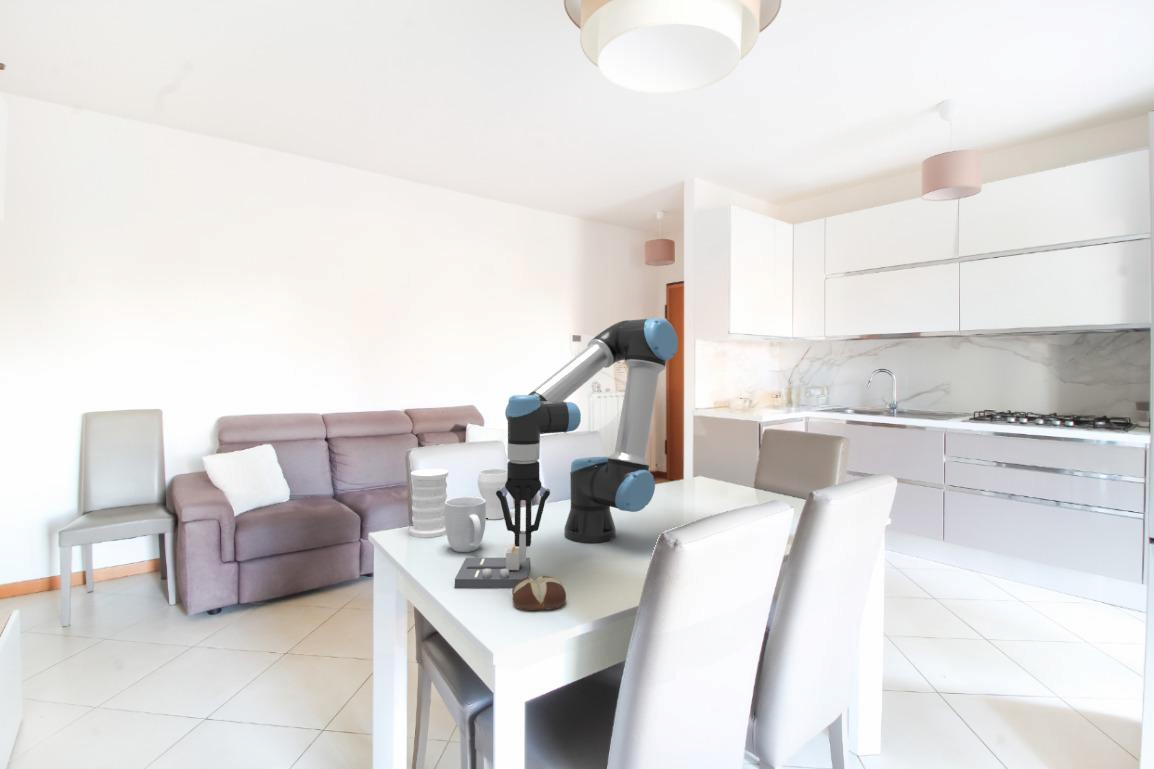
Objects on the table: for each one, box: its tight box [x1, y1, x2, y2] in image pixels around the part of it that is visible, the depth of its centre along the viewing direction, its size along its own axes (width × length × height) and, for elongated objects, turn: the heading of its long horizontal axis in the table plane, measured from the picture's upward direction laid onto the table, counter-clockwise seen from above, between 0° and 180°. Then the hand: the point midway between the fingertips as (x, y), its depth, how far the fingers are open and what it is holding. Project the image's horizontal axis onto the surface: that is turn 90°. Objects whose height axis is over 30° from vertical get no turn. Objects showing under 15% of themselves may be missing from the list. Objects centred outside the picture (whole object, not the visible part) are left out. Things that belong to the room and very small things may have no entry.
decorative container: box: [409, 468, 449, 539], centre depth 165 cm, size 12×12×18 cm
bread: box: [511, 575, 567, 611], centre depth 118 cm, size 11×11×5 cm
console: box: [454, 557, 531, 589], centre depth 131 cm, size 16×14×4 cm
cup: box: [477, 468, 509, 520], centre depth 182 cm, size 11×11×15 cm
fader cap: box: [505, 545, 521, 570], centre depth 131 cm, size 3×5×4 cm, turn 1°
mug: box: [445, 496, 487, 553], centre depth 149 cm, size 15×11×13 cm
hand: (522, 559), depth 131 cm, fingers closed
